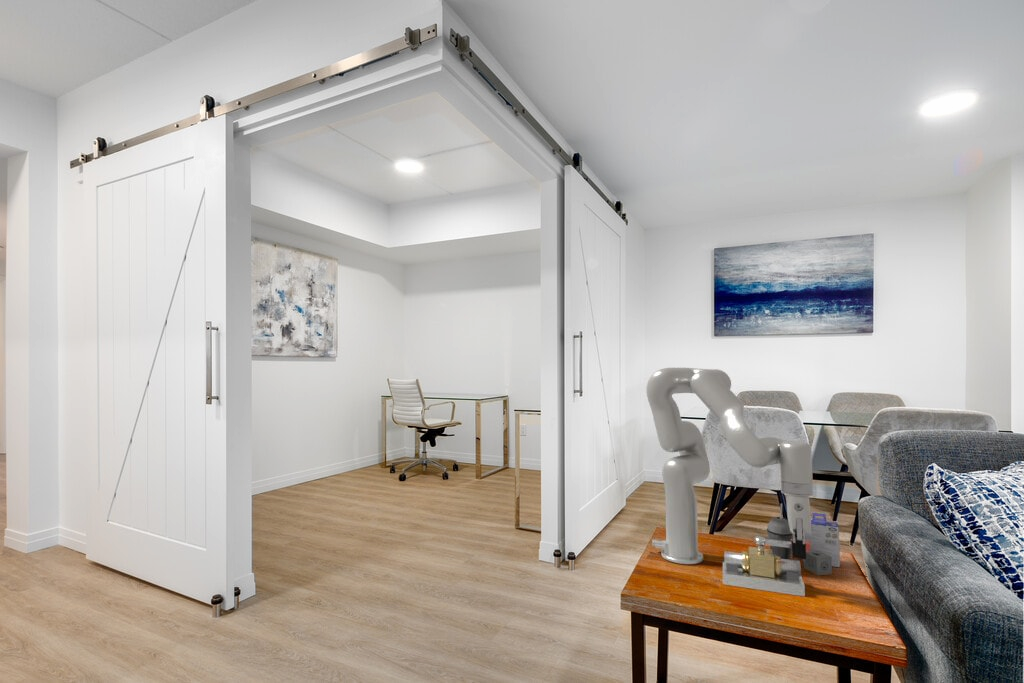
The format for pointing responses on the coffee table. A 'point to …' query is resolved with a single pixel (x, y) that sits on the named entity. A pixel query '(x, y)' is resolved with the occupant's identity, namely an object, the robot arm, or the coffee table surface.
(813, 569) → the dice cube
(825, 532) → the ink cartridge box
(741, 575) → the pipe valve board
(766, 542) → the valve lever
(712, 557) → the coffee table surface
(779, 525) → the beverage cup
